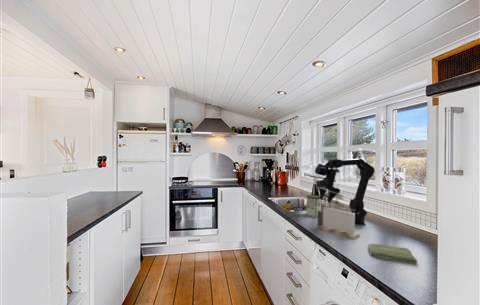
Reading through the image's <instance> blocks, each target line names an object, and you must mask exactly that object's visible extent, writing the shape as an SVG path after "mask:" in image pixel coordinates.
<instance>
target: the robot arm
mask: <svg viewBox="0 0 480 305" xmlns="http://www.w3.org/2000/svg"><path fill="white" fill-rule="evenodd" d="M354 165H355V166H356V167H357V169H358V170H359V174H360V178H359V182H358V186H357V189H356V192H355V195H354V198H353V199H352V198H351V199H350V201H349V204H348V205H349V209H350V213H355V225H366V223H365V219H366V218H365V217H366V216H367V214H368V212H367V210H365V209H364V207H365V203H364V199H365V198H364V197H365V196H366V195H365V194H366V192H367V188H368V184H369V181H370V179H371V178H372V177H373V176H374V174H375V171H376V170H375V167H374V166H372V165H370V164H369V163H368V162H366V161H365V160H364V159H363V158H351V159H337V158H329V159H328V160H327V161H326V163H325V164H324V165H323V164H321V163H318V165H317V166H316V167H315V169H314V173H315V174H316V175H319V176H323V179H319V180H315V186H316V187H317V189H318V192H319V196H320V199H321V200H323V199H324V196H326V193H328V196H327V203H330V202H331V201H332V200H333V199H334V198H335V197H336V196H337V195H339V194H340V193H341V189H340V188H339V187H335V186H334V184H335V183H336V175H337V173H339V174H340V173H341V171H340V170H339V168H342V167H345V166H354Z"/></svg>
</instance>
